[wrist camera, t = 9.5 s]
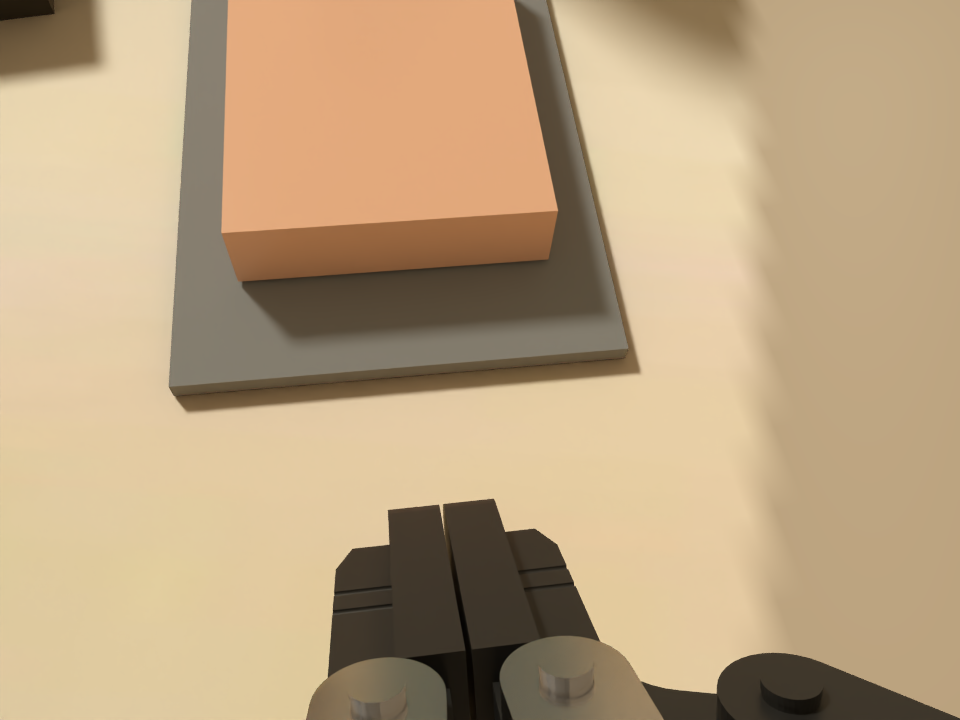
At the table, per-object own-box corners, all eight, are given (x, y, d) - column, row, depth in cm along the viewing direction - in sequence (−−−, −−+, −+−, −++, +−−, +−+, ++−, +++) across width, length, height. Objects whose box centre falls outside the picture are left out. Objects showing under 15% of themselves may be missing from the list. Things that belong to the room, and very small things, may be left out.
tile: (221, 232, 25) (230, -69, 32) (239, 284, 27) (243, -8, 34) (558, 210, 26) (497, -78, 33) (548, 262, 28) (493, -18, 35)
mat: (174, 396, 26) (168, 386, 26) (197, -18, 35) (193, -31, 35) (624, 358, 28) (628, 348, 27) (534, -31, 37) (536, -43, 36)
